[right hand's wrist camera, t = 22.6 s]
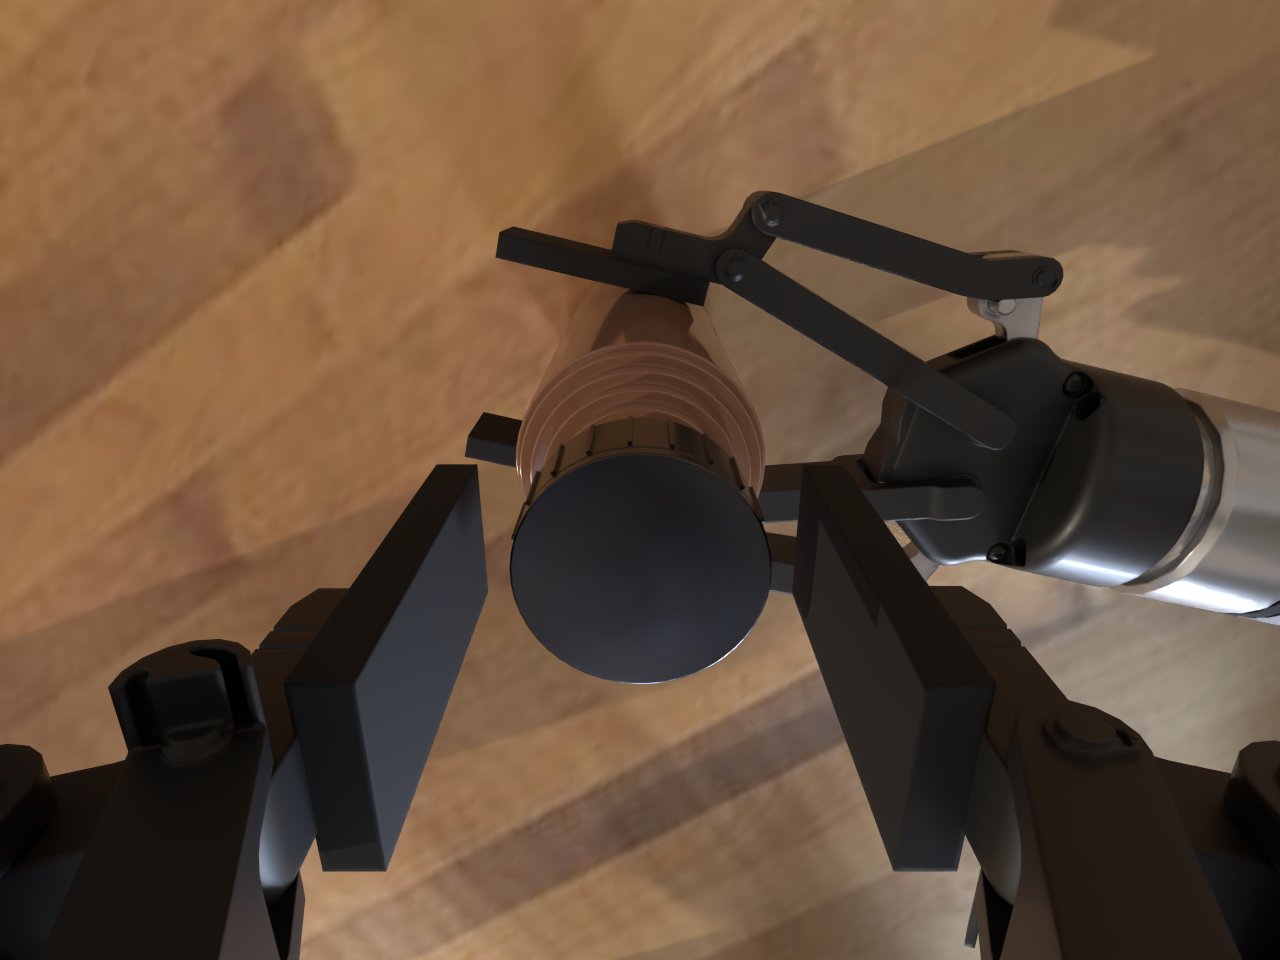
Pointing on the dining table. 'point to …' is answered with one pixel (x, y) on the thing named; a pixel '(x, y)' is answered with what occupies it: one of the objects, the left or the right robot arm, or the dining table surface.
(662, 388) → the bottle
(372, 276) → the dining table surface
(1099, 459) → the left robot arm
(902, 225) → the dining table surface
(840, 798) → the dining table surface
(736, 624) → the cap
